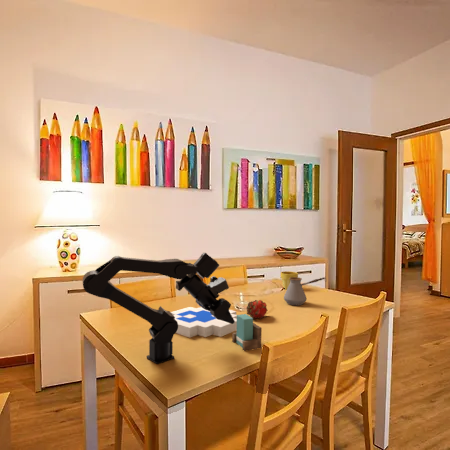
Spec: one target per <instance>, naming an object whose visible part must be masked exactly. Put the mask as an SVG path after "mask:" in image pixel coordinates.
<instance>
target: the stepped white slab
mask: <svg viewBox="0 0 450 450" xmlns="http://www.w3.org/2000/svg"><path fill="white" fill-rule="evenodd" d="M170 312H171V313H172V314H173V316H174V317H175V318H174V319H175V320H176V321H177V323H178V330H177V332H176V333H175V334H177V335H180V336H184V337H187V338H192V337H195V336H200V337H203V338H206V337H210V336H211V335H213V336H217V337H220V338H221V337H223V336H225V335H228V334H231V333H234V332H237V315H238V314H237V311H236V310H232V309H229V312H230V314H231V315H232V317H233V319H234V321H235V322H234V323H233V324H231V323H228V322H225V321H222V320H218V319H216V318H215V317H214V316H213V315H212V314H211V313H210V311H208V310H205V309H203V308H202V307H201V306H199V307H192V306H188V307H184V308H180V309H178V310H174V311H170Z"/></svg>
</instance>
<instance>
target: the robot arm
mask: <svg viewBox="0 0 450 450" xmlns="http://www.w3.org/2000/svg"><path fill="white" fill-rule="evenodd" d="M219 267H220V264H219V263H218V261H217V260H216V259H214V258H213V257H211V256H210V255H209V254H208V253H207V252H202V253H201V255H200V256H199V257H198V258H197V260H195V262H194V263H191V262H185V261H183V260H181V259H179V258H169V259H167V258H166V259H161V260H155V259H143V258H136V257H135V258H134V257H124V256H123V257H122V256H119V255H115V256H113V257H111V258H110V259H109V260H108V261H107V262H105V263H103V264H102V265H100V266H98V267H97V268H96V269H94V270H89V271H87V272H86V273H85V274H84V275H83V277H82V281H81V282H82V287H83V290H84V291H85V292H86V293H87V294H89V295H92V296H95V297H97V298H101V299H106V300H110V301H111V302H112V303H114V304H117V305H119V306H120V307H122V308H124V309H125V310H126V311H129V312H131V313H132V314H134V315H136V316H138V317H140V318H141V319H143V320H145V321H146V322H148V323H149V324H150V325H151V327H150V328H149V329H148V332H149V335H150V336H151V337H152V338H150V339H149V340H148V344H149V346H148V347H149V348H148V349H149V353H148V354H149V355H146V359H147V360H150V361H151V362H153V363H154V364H162V363H165V362H168V361H171V360H173V359H175V355H173V348H174V345H173V343H174V342H173V341H172V340H173V338H174V335H175V334H177V333H176V332H177V330H178V323H177V321H176V320H175V319H174V318H175V317H174V316H173V314H172V313H171V312H172V311H169V310H166V309H164V307H162V306H161V305H160V306H159V307H158V309H155V308H153V307H150V306H149V305H147V304H145V303H144V302H142V301H140V300H139V299H137V298H135V297H134V296H132V295H130V294H128V293H126V292H125V291H124V290H121V289H120V288H118V287H116V286H115V285H114V284H113V283H112V282H111V280H112V279H113V278H114V277H115V276H116V275H117V274H118V273H120V271H124V272H136V273H145V274H147V273H148V274H158V275H161V276H166V277H168V278H171V279H176V281H175V289H176V290H178V291H181V290H183V289H185V290H186V291H187V292H188V293H189V294H190V296H191V297H192V298H193V299H195V303H196V304H197V305H198V306H199V307H202V308H203V309H205V310H208V311H210V313H211V314H212V315H213V316H214V317H215V318H216V319H218V320H222V321H225V322H228V323H231V324H233V323H234V322H235V321H234V319H233V317H232V315H231V314H230V312H229V310H230V308H231V307H232V304H231V303H230V302H229V301H228V300H227V299H225V298H223V297H221V298H219V297H220V294H221V293H222V292H224V291H226V290H228V289H229V288H230V286H229V284H228V281H227V279H226V278H224V277H216V276H215V275H213V276H211V275H212V274H213V273H215V271H216V270H217V269H218V268H219ZM208 278H210V279H209V283H208V284H207V283H206V282H204V281H203V280H202V279H208Z"/></svg>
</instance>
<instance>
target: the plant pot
mask: <svg viewBox="0 0 450 450" xmlns="http://www.w3.org/2000/svg"><path fill="white" fill-rule="evenodd" d="M290 277H298V278H299V272H296V271H289V270H286V271H285V270H283V271H280V279H281V283H282V284H281V285H282V288H283V287H284V288H285V289H284V290H286V291H287V288H288V286H289V284H290V279H289V278H290Z"/></svg>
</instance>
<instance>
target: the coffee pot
mask: <svg viewBox="0 0 450 450" xmlns="http://www.w3.org/2000/svg"><path fill="white" fill-rule="evenodd" d="M289 279H290V284H289V286H288V288H287V290H286V291H285V293H284V295H283V299H284V302H286V304H287V305H290V306H302V305H304V304H305V302H306V301H307V296H306V293H305V291H304V289H303V286H305V285H309V284H313V283H317V282H319V281H320V282H321V281H324V282H327V278H326V277H325V276H324V277H319V278H316V279H313V280H309V281H307V282H304V283H301V281H302V280H303V279H302V277H299V276H298V277H290V278H289Z"/></svg>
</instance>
